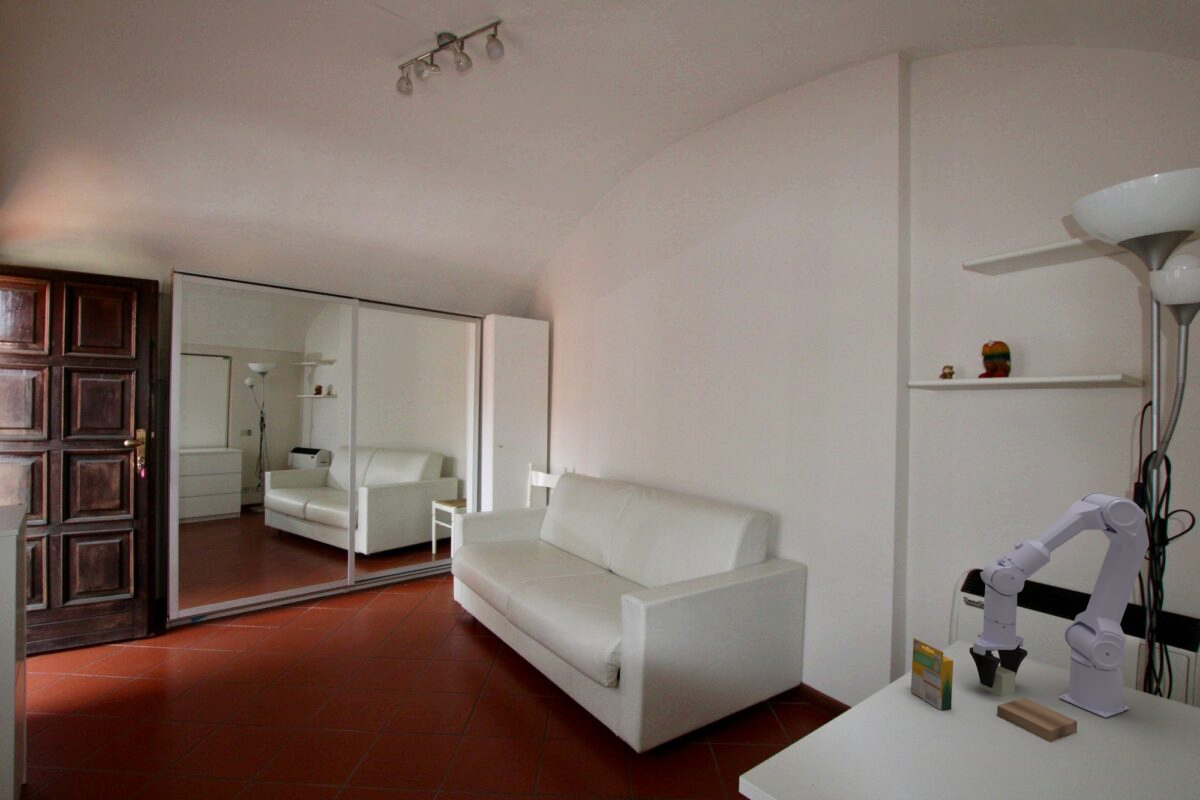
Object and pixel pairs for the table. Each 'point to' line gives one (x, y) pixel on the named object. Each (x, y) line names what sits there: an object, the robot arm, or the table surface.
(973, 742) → the table surface
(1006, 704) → the walnut base block
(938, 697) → the crayon box
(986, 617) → the robot arm
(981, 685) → the sage cube
